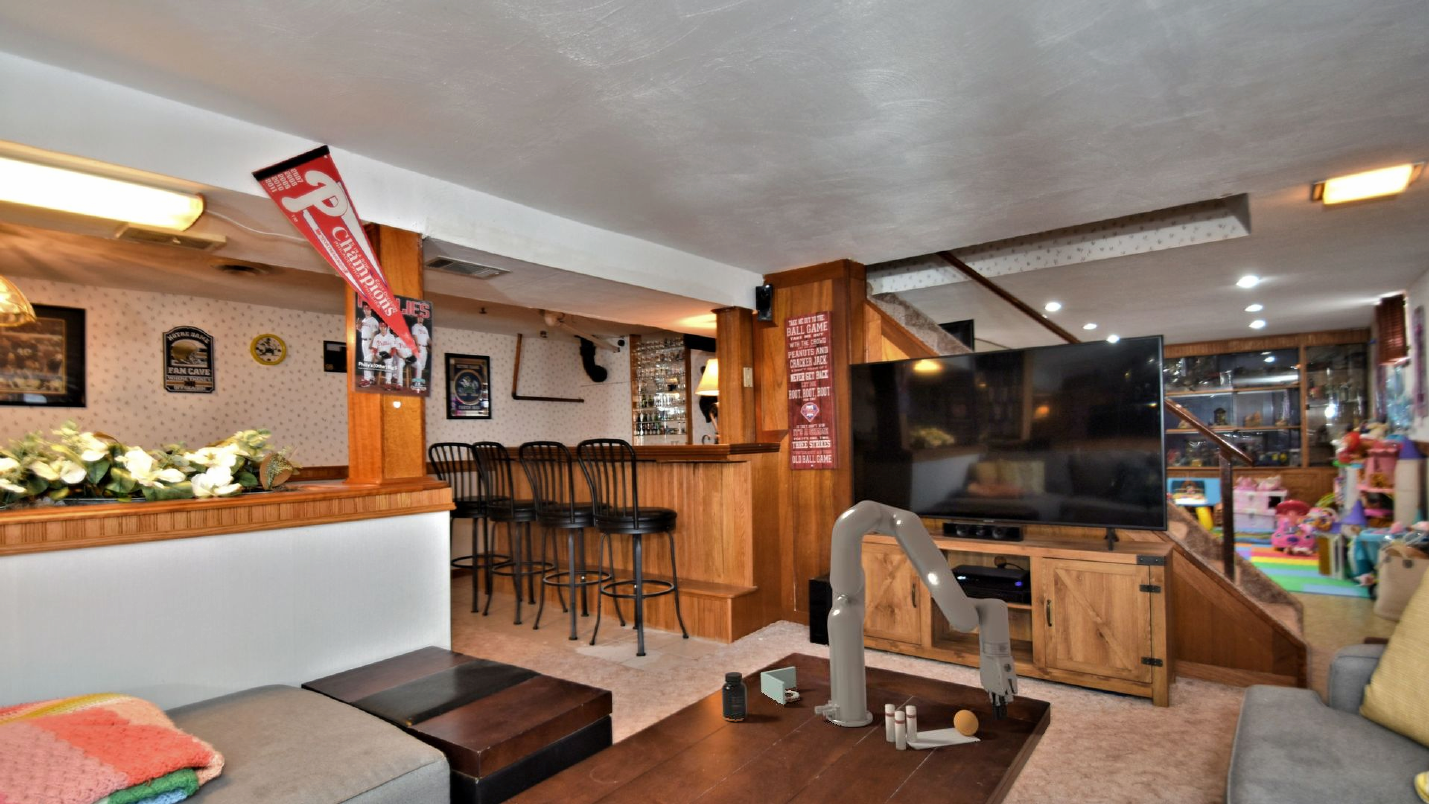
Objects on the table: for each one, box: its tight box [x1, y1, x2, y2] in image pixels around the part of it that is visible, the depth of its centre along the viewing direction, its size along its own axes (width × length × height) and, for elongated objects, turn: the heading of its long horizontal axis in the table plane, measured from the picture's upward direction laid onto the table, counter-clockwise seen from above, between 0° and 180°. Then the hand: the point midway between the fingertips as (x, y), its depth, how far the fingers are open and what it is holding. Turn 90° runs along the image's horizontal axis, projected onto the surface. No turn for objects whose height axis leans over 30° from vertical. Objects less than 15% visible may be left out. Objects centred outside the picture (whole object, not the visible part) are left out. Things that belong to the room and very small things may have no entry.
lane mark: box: [906, 727, 981, 750], centre depth 181 cm, size 18×9×1 cm, turn 104°
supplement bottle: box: [721, 671, 748, 720], centre depth 198 cm, size 7×7×12 cm
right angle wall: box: [760, 666, 800, 705], centre depth 213 cm, size 12×12×8 cm
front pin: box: [905, 705, 918, 743], centre depth 179 cm, size 2×2×8 cm
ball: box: [953, 709, 979, 736], centre depth 183 cm, size 6×6×6 cm
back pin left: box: [884, 703, 896, 743], centre depth 181 cm, size 2×2×8 cm
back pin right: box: [895, 710, 907, 751], centre depth 176 cm, size 2×2×8 cm
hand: (999, 719), depth 185 cm, fingers closed
